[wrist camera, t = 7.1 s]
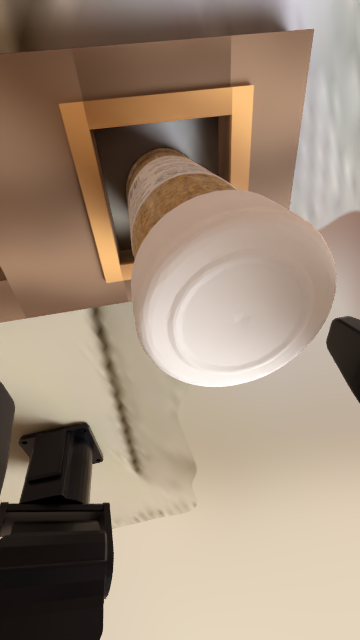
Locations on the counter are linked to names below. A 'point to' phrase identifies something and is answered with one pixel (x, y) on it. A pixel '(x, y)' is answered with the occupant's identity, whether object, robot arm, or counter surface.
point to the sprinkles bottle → (220, 274)
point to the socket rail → (123, 110)
